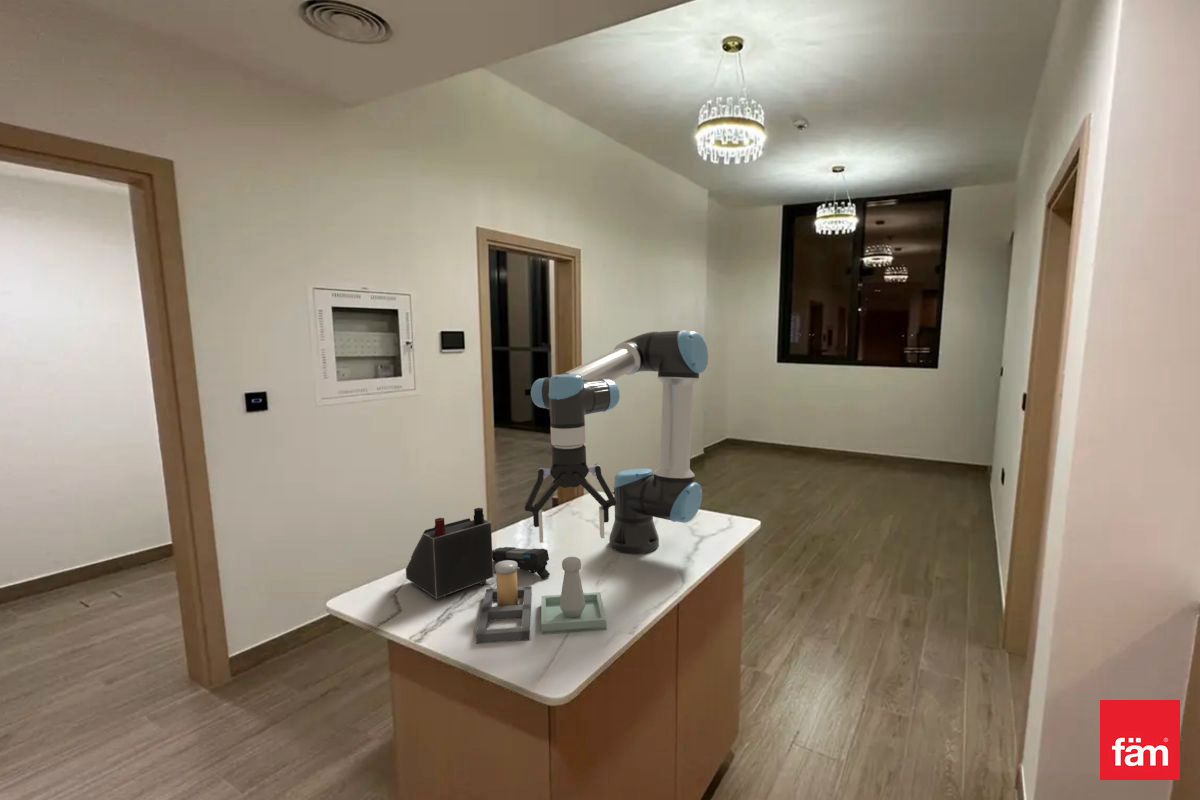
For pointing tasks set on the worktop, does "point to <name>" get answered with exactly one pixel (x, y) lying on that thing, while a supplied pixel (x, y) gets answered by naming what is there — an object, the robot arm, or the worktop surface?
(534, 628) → the worktop surface
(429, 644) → the worktop surface
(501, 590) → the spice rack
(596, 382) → the robot arm
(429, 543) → the voltmeter
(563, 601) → the salt shaker
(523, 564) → the gun
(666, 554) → the worktop surface
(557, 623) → the tray
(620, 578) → the worktop surface
